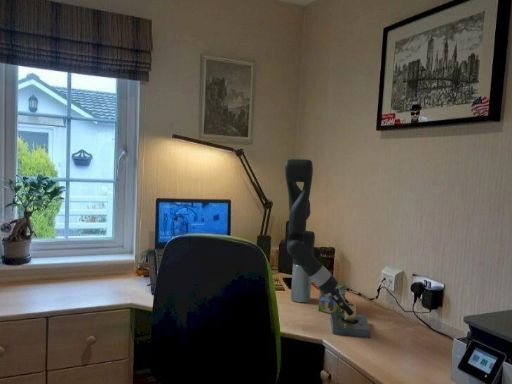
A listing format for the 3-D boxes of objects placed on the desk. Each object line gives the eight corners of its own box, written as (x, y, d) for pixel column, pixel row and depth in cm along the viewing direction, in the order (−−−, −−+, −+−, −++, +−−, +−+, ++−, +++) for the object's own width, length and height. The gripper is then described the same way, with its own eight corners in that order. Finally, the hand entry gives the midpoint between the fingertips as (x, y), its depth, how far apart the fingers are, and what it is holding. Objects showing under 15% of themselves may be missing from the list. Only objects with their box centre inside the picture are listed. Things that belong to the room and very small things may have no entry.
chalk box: (337, 316, 177) (339, 282, 177) (317, 311, 182) (319, 278, 181) (344, 310, 185) (347, 277, 184) (325, 305, 190) (328, 274, 189)
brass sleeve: (342, 325, 167) (344, 302, 166) (354, 326, 166) (355, 303, 166) (343, 329, 162) (345, 305, 162) (355, 330, 162) (356, 306, 161)
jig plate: (330, 319, 173) (330, 312, 173) (364, 322, 171) (365, 315, 171) (332, 334, 157) (333, 326, 157) (370, 337, 155) (370, 330, 155)
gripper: (331, 278, 157) (360, 310, 156) (329, 269, 171) (356, 299, 171) (316, 290, 158) (345, 323, 157) (316, 280, 172) (342, 310, 172)
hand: (350, 310), depth 164 cm, fingers open, 8 cm apart
